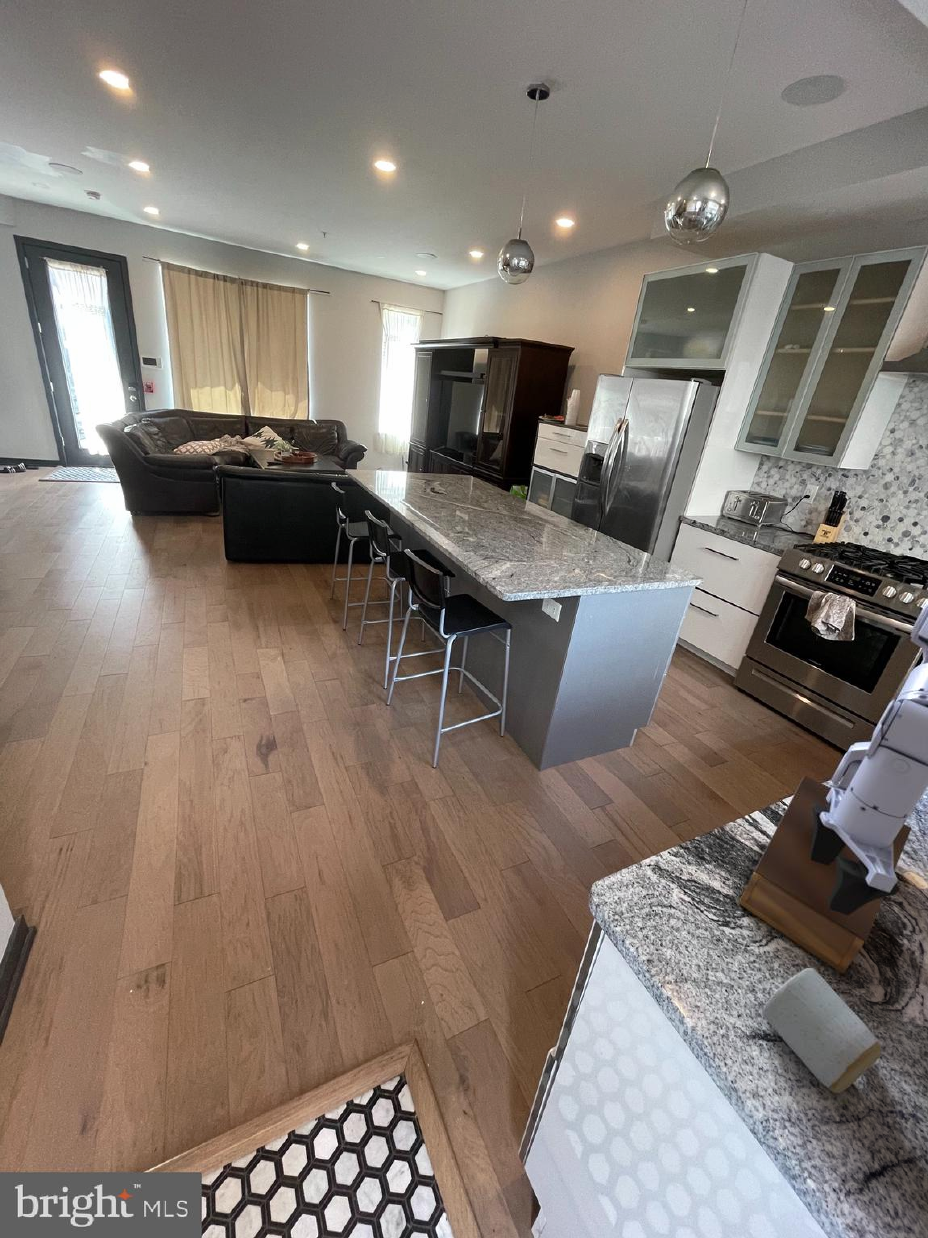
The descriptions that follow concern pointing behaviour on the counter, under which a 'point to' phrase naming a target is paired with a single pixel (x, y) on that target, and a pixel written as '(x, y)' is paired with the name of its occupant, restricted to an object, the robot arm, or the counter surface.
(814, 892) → the lid
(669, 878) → the counter surface
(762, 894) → the box
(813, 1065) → the ceramic mug
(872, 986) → the counter surface
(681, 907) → the counter surface
